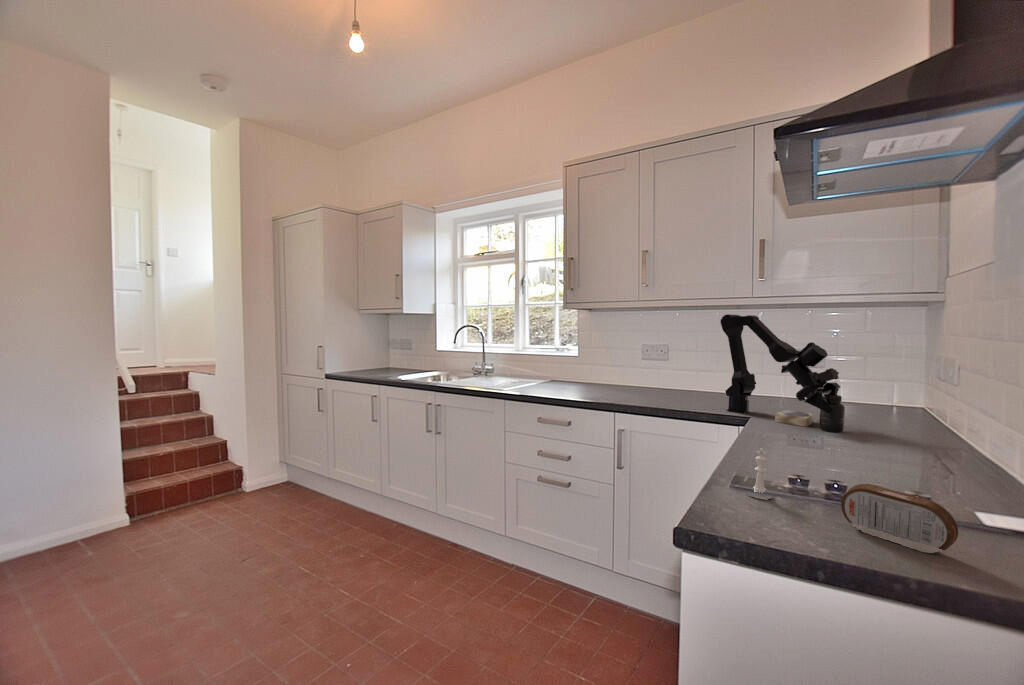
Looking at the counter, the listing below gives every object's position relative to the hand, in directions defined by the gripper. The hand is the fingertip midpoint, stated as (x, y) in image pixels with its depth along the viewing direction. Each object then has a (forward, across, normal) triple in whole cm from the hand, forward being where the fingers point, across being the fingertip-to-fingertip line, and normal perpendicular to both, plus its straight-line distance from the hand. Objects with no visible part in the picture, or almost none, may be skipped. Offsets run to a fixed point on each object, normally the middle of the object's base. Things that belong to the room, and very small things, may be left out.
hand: (836, 411), depth 152 cm
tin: (+35, -77, -26) cm, 89 cm away
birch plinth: (-5, +2, +15) cm, 16 cm away
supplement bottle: (+4, 0, +6) cm, 7 cm away
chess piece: (+19, -78, -10) cm, 81 cm away
